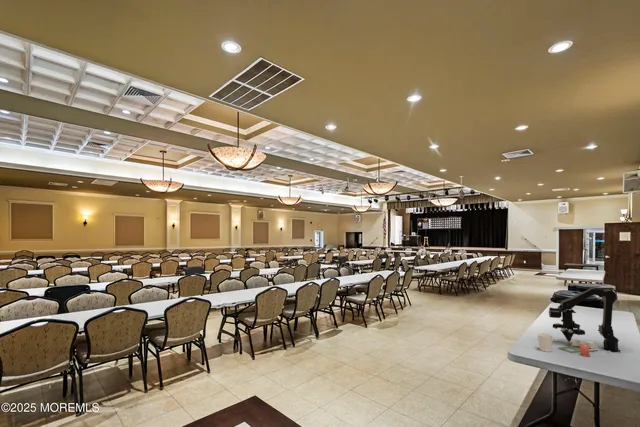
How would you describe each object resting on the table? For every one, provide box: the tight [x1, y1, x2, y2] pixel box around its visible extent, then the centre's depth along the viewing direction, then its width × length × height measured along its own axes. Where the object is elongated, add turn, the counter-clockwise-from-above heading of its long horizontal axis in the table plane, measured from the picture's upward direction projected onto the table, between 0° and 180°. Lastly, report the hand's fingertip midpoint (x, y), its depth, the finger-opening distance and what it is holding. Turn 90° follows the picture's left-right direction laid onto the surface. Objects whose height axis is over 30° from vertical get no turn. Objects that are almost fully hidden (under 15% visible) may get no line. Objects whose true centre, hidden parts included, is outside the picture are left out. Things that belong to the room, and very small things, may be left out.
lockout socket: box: [558, 345, 580, 354], centre depth 209 cm, size 8×11×1 cm
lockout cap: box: [579, 343, 591, 358], centre depth 200 cm, size 5×5×6 cm
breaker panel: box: [569, 344, 599, 353], centre depth 211 cm, size 11×10×1 cm
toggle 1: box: [571, 339, 581, 346], centre depth 214 cm, size 3×3×4 cm
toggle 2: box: [585, 341, 596, 349], centre depth 210 cm, size 3×3×4 cm
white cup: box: [537, 332, 553, 353], centre depth 210 cm, size 8×8×10 cm
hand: (569, 341), depth 219 cm, fingers closed
